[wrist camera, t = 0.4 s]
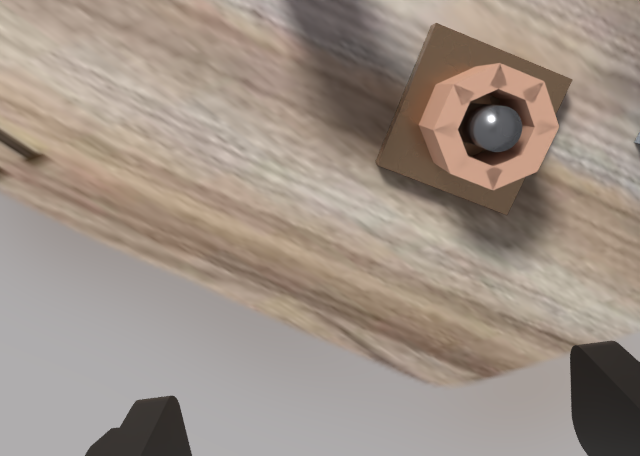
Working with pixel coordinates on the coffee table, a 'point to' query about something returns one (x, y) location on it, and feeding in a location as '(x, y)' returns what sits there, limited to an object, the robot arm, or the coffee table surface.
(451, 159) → the ring
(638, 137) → the tray
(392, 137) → the brown square stand
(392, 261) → the coffee table surface
